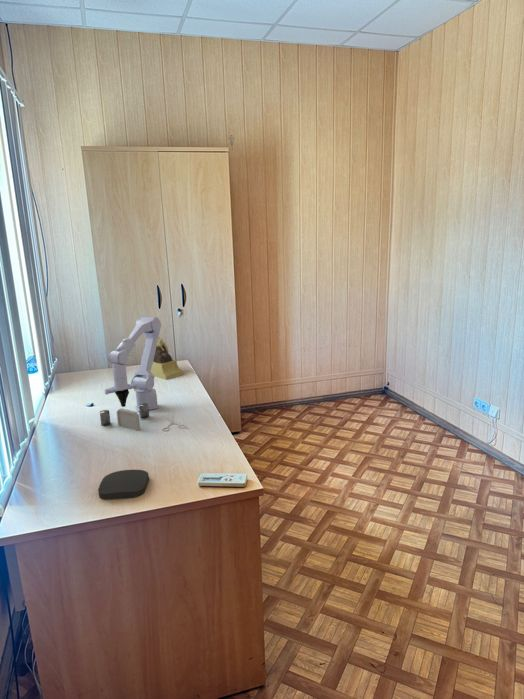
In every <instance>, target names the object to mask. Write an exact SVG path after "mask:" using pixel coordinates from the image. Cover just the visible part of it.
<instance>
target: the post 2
mask: <svg viewBox="0 0 524 699" xmlns="http://www.w3.org/2000/svg"><path fill="white" fill-rule="evenodd" d="M139 410H140V412H139V419H141V420H145V419H146V420H147V419H148V418H149V419H150V410H149V408H148V404H147V403H143V404H140V405H139Z"/></svg>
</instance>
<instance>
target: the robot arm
mask: <svg viewBox="0 0 524 699" xmlns="http://www.w3.org/2000/svg"><path fill="white" fill-rule="evenodd" d="M161 328H162V322H161V320H160V319H159V317H155V316H154V317H151V316H150V317H148V316H140V317H138V319H137V320H136V321H135V326H134V328H133V329H132V331H131V332H130V334H129V336H128V337H127V338H123V339H122V340H121V342H120V343H119V345H118V346H117V347H116V349H115V350H112V351H111V352H110V353H109V354H108V357H107V361H108V362H109V363H110V367H111V369H112V375H113V377H112V378H113V385H114V386H112V387H108V388H105V389H104V394H105V395H109V394H115V395H116V398H118V401H119V403H120V407H122V408H123V407H126V405H127V399H128V396H129V394H130V391H129V390H132V389H133V391H134V392H135V397H136V398H135V400H136V405H135V406H134V407H135V409H136V412H137V413H138V412H139V413H140V410H139V405H140V404H143V403H147V404H148V408H149V411H151V410H157V409H159V407H158V405H159V404H158V397H157V396H158V395H157V392H156V391H157V390H156V388H154V386H155V376H154V375H153V374H152V373H151V368H152V364H153V359H154V355H155V351H156V346H157V342H158V337H159V335H160V334H161V333H160V332H161ZM142 335H144V336H145V337H146V340H145V344H144V348H143V352H142V357H141V359H142V360H141V359H140V366H139V369H138V370H136V371H135V372H134V374H133V376H132V378H131V381H130V383H128V376H127V367H126V366H127V364H126V363H127V362H128V359H129V356H130V353H132V350H134V348H135V346H136V345H135V343H136V341H138V339H139V338H140V337H141V336H142ZM159 338H160V337H159Z"/></svg>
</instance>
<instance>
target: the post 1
mask: <svg viewBox="0 0 524 699" xmlns="http://www.w3.org/2000/svg"><path fill="white" fill-rule="evenodd" d="M110 415H111V414H110V410H109V409H102V410H100V411H99V419H100V425H101V426H102V427H108V426H110V425H111V424H112V422H111V416H110Z"/></svg>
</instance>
